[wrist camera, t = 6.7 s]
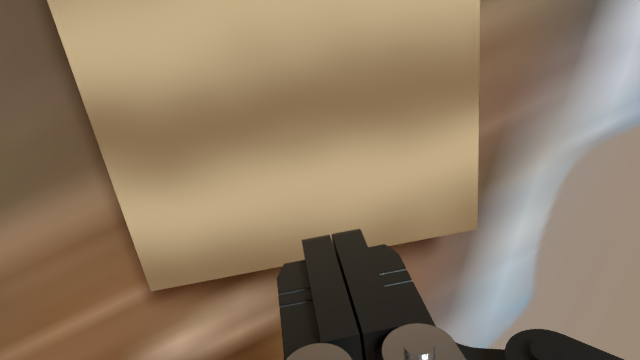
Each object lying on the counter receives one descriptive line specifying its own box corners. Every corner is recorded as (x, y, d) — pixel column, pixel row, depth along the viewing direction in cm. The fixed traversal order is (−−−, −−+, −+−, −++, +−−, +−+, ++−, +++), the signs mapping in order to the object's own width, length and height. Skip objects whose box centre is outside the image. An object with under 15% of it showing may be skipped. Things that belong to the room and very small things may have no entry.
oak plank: (51, -88, 16) (12, -98, 14) (445, -142, 17) (481, -161, 15) (162, 251, 22) (150, 291, 20) (450, 198, 23) (477, 229, 21)
